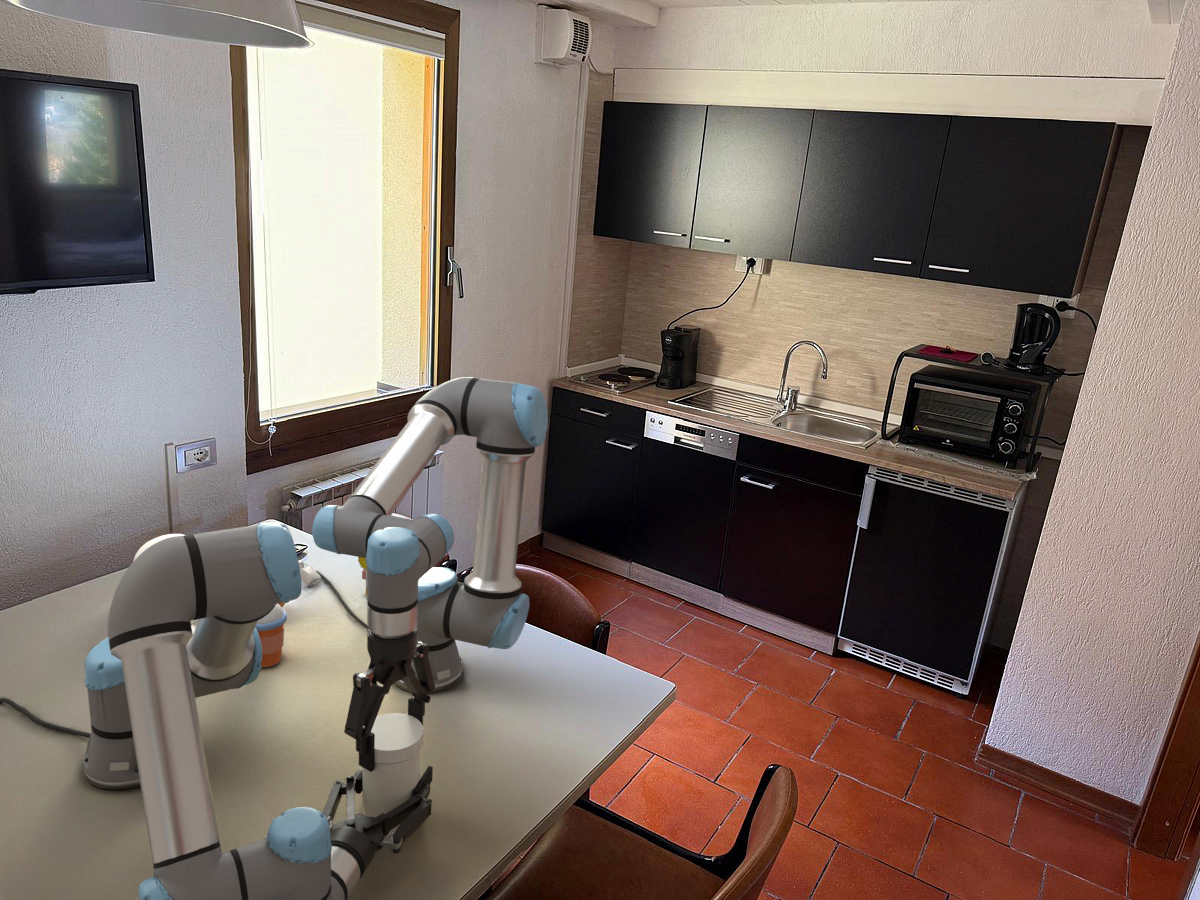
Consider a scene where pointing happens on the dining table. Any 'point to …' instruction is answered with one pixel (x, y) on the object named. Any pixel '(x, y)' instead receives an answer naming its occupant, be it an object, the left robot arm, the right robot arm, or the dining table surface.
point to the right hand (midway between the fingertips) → (391, 750)
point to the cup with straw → (272, 635)
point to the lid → (397, 737)
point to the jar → (389, 786)
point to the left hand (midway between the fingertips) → (402, 767)
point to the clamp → (308, 574)
